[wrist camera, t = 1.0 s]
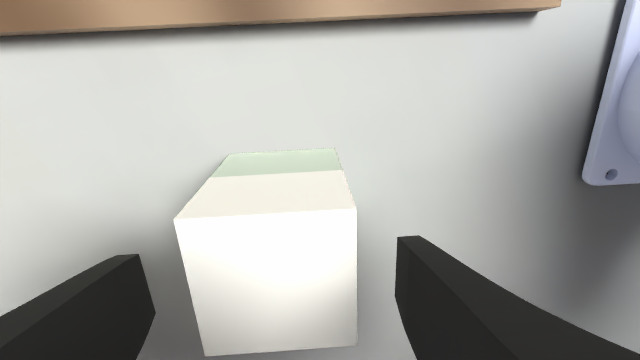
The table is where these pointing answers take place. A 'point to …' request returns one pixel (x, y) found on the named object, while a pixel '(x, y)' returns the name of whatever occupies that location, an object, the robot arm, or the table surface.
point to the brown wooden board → (226, 12)
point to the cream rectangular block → (272, 253)
